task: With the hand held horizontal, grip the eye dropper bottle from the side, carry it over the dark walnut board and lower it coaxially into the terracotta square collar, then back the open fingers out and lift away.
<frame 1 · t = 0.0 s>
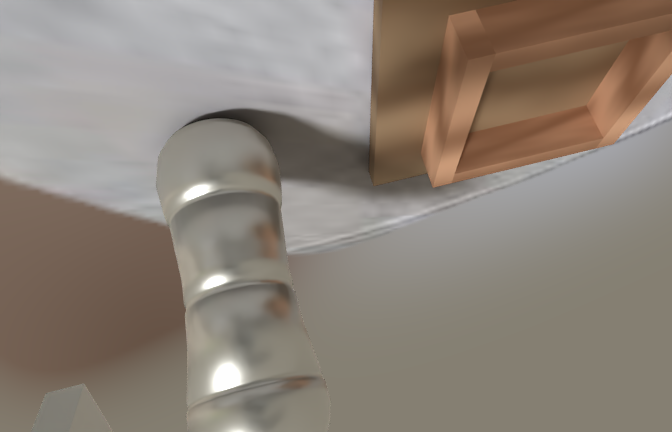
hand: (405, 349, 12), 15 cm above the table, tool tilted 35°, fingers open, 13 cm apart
plastic bottle: (212, 136, 29), on the table
collar board: (528, 56, 30), on the table
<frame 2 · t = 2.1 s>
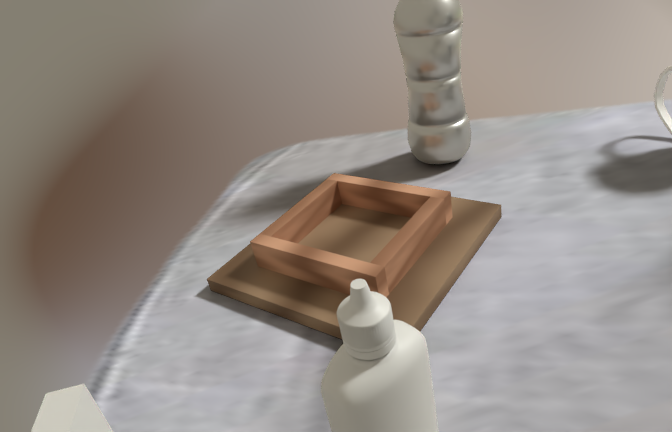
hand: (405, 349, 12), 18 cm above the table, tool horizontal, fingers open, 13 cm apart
plastic bottle: (440, 159, 58), on the table
collar board: (358, 253, 45), on the table
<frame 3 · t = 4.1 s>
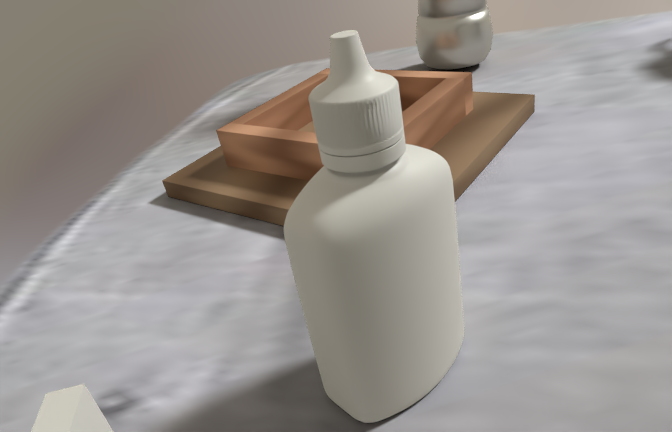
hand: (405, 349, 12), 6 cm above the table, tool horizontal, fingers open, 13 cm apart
plastic bottle: (455, 68, 48), on the table
eye dropper bottle: (398, 371, 20), on the table
collar board: (354, 153, 36), on the table
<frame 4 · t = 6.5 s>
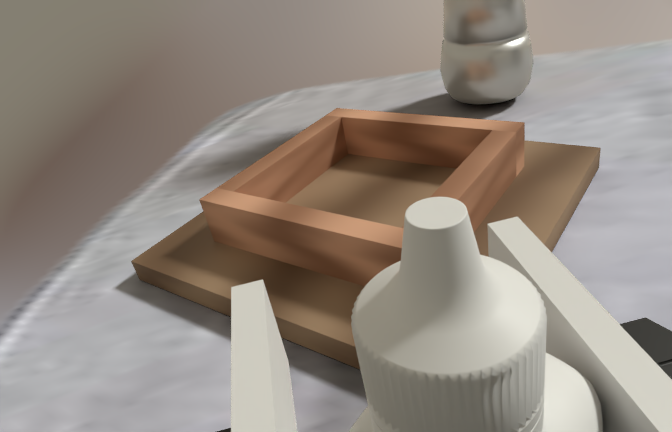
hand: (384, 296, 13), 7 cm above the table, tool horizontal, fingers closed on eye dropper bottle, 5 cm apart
plastic bottle: (486, 101, 41), on the table
collar board: (374, 222, 29), on the table
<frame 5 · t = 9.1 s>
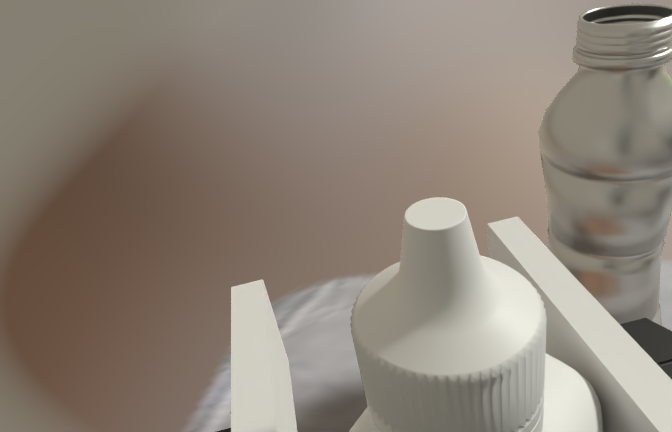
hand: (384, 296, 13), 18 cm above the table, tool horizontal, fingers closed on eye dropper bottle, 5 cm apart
plastic bottle: (591, 359, 32), on the table
when the fingers open (9 cm above the table, at t = 11.7 s): eye dropper bottle drops 1 cm, resting on collar board.
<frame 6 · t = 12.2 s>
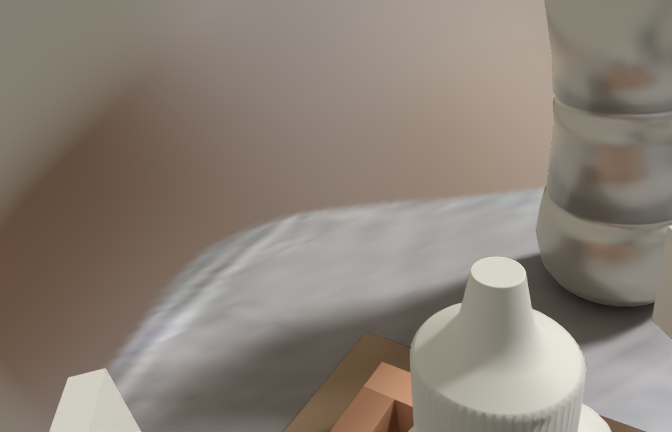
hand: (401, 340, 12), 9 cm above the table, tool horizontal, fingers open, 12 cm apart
plastic bottle: (607, 281, 26), on the table
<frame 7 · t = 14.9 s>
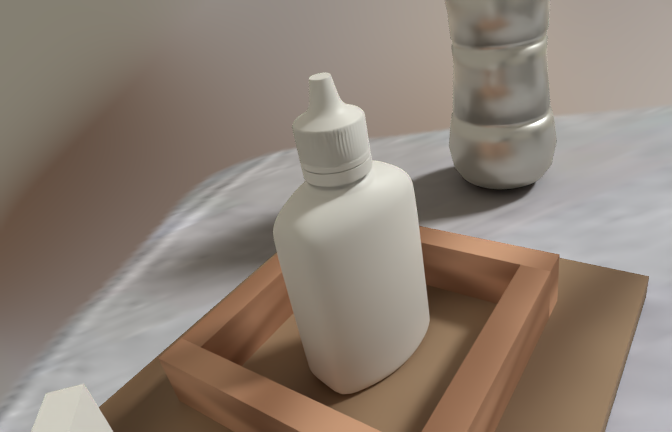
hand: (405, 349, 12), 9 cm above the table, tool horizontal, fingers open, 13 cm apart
plastic bottle: (501, 179, 36), on the table
eye dropper bottle: (373, 352, 23), point 1 cm above the table, touching collar board
collar board: (376, 368, 24), on the table
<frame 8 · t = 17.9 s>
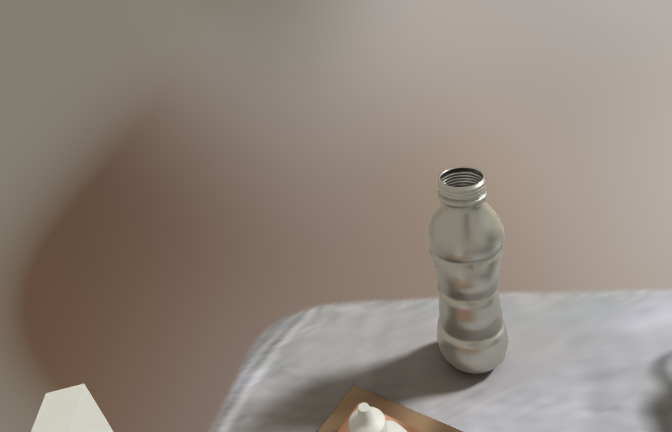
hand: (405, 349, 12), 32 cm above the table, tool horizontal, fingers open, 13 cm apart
plastic bottle: (473, 358, 53), on the table
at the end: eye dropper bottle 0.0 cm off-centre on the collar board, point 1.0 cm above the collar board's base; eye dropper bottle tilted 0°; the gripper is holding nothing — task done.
